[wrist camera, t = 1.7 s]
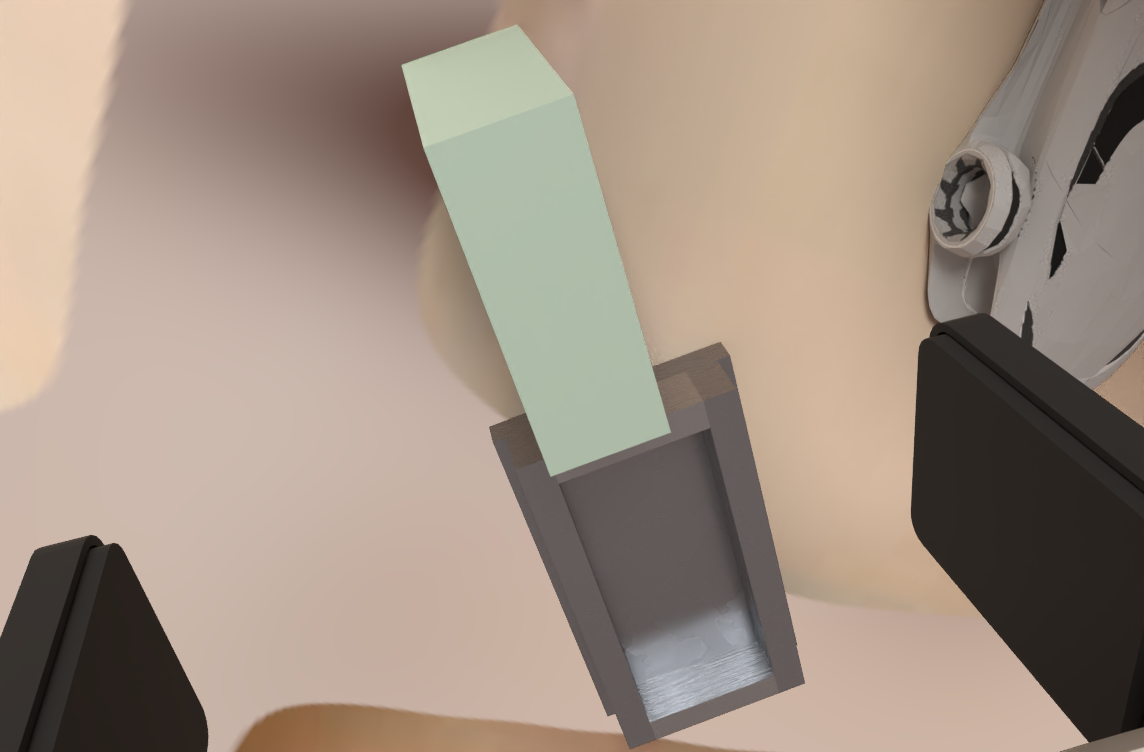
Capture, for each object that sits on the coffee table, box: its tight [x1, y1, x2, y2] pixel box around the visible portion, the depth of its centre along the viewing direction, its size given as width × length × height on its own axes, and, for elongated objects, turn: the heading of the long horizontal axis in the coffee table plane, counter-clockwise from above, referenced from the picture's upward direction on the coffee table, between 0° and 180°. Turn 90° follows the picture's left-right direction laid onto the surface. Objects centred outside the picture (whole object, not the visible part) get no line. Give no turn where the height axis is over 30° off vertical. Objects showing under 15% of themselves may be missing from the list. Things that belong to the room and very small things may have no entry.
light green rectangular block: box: [402, 25, 671, 477], centre depth 28 cm, size 10×4×8 cm, turn 17°
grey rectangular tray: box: [489, 342, 805, 749], centre depth 39 cm, size 16×9×3 cm, turn 17°
